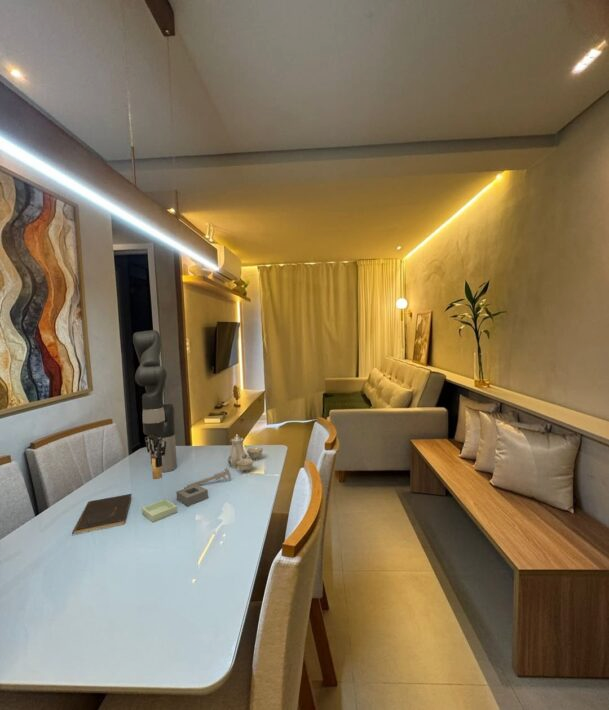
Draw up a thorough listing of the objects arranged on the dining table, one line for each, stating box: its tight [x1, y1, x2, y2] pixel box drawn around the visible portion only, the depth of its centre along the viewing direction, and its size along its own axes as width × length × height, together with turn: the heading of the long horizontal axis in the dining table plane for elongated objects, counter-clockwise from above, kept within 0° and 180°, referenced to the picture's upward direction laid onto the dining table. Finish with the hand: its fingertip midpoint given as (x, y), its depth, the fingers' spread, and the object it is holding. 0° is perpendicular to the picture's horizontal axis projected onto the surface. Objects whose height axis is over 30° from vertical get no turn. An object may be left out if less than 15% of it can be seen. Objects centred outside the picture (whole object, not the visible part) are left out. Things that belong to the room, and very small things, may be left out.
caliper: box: [183, 467, 231, 489], centre depth 155 cm, size 20×1×6 cm, turn 110°
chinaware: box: [227, 433, 264, 474], centre depth 177 cm, size 28×17×17 cm, turn 178°
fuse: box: [150, 453, 163, 480], centre depth 129 cm, size 3×3×9 cm
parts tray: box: [141, 498, 178, 523], centre depth 130 cm, size 9×9×2 cm
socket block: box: [175, 484, 209, 507], centre depth 141 cm, size 9×9×4 cm
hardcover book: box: [71, 493, 132, 535], centre depth 131 cm, size 16×23×2 cm
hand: (156, 465), depth 129 cm, fingers closed on fuse, 3 cm apart
